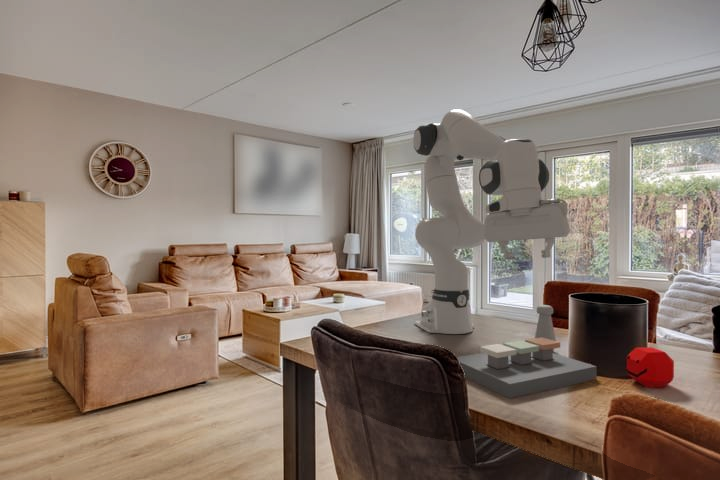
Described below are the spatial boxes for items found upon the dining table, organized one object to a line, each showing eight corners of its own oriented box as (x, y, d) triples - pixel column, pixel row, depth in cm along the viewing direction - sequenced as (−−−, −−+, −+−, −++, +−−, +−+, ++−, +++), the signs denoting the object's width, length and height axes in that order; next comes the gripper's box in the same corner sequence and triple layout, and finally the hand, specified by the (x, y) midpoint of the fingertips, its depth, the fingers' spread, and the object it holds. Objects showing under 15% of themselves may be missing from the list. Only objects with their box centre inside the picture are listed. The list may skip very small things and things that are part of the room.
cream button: (480, 364, 100) (480, 346, 100) (498, 361, 103) (498, 343, 103) (497, 371, 95) (497, 352, 95) (516, 367, 98) (516, 349, 98)
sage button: (503, 360, 103) (503, 343, 103) (520, 357, 106) (520, 340, 106) (520, 367, 98) (520, 348, 98) (538, 363, 101) (538, 345, 100)
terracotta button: (525, 356, 106) (525, 339, 106) (541, 353, 109) (541, 337, 108) (543, 362, 101) (543, 345, 101) (560, 359, 103) (560, 342, 103)
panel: (450, 370, 106) (450, 358, 106) (529, 356, 116) (529, 345, 116) (509, 398, 88) (509, 384, 88) (596, 379, 98) (596, 366, 98)
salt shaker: (558, 354, 118) (558, 307, 118) (536, 353, 119) (536, 307, 119) (553, 348, 124) (553, 303, 124) (532, 347, 125) (532, 303, 125)
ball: (620, 378, 99) (620, 345, 99) (653, 377, 99) (653, 344, 99) (646, 391, 91) (646, 355, 91) (681, 389, 91) (681, 354, 91)
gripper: (571, 197, 101) (575, 255, 101) (491, 208, 116) (494, 259, 115) (561, 196, 97) (566, 257, 96) (479, 207, 111) (483, 260, 110)
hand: (526, 258), depth 106 cm, fingers open, 8 cm apart
